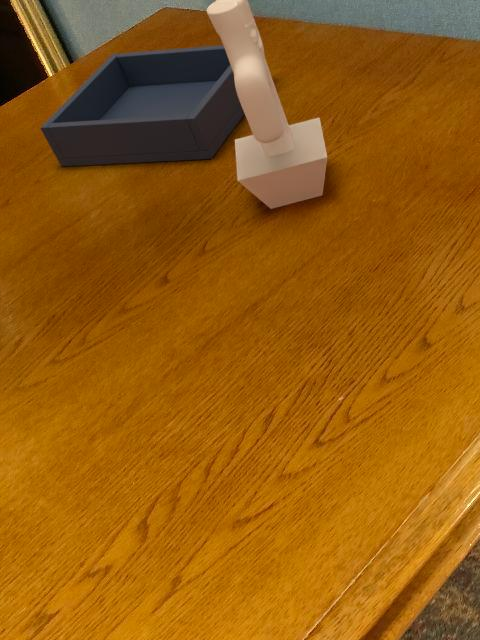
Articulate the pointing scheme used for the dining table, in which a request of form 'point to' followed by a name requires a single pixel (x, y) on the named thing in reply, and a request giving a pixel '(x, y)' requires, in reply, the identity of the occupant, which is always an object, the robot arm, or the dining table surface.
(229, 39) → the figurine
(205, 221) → the dining table surface
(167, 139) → the bin
